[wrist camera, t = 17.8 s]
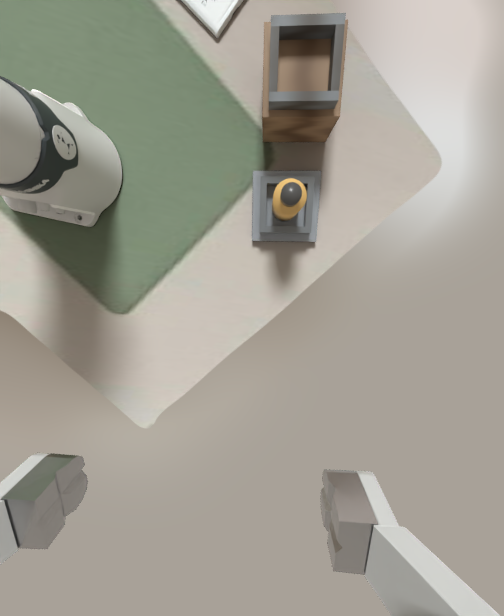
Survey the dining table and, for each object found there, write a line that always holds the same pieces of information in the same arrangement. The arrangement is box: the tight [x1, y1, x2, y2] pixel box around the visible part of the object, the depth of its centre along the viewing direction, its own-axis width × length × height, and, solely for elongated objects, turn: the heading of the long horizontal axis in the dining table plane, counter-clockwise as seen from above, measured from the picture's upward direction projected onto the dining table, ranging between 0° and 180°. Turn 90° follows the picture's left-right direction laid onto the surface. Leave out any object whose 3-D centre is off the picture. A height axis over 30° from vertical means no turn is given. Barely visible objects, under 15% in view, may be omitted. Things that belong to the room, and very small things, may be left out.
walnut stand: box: [262, 13, 348, 142], centre depth 34 cm, size 10×10×10 cm
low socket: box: [252, 171, 321, 242], centre depth 41 cm, size 11×11×3 cm
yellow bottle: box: [272, 178, 307, 221], centre depth 36 cm, size 4×4×11 cm
